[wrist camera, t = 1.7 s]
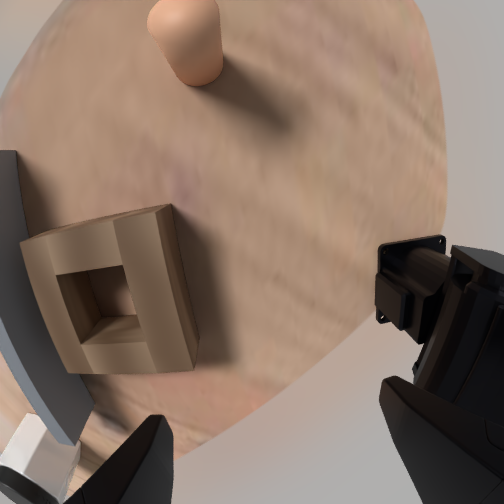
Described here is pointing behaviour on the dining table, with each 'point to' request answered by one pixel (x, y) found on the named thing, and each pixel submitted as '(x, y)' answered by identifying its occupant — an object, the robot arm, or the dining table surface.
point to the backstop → (33, 326)
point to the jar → (37, 465)
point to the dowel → (189, 38)
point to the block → (140, 285)
